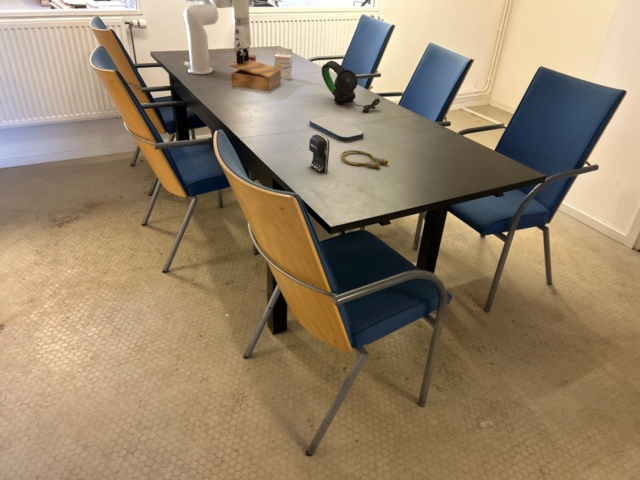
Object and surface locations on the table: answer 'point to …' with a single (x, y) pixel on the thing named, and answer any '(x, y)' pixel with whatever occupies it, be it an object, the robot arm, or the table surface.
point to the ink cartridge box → (284, 62)
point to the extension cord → (370, 164)
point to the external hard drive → (336, 128)
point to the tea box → (255, 80)
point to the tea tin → (252, 57)
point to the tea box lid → (256, 67)
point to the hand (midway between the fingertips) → (242, 61)
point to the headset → (343, 85)
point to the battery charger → (319, 153)
